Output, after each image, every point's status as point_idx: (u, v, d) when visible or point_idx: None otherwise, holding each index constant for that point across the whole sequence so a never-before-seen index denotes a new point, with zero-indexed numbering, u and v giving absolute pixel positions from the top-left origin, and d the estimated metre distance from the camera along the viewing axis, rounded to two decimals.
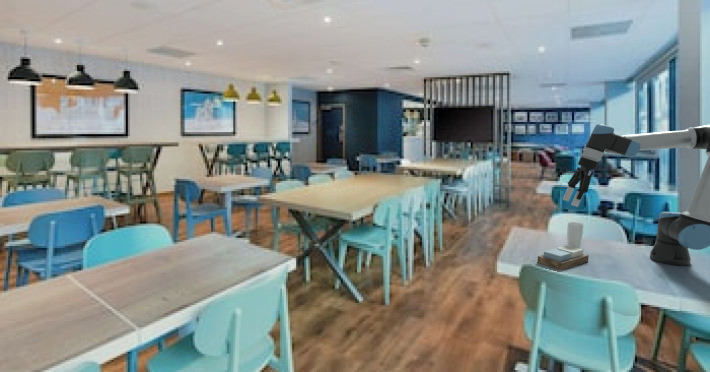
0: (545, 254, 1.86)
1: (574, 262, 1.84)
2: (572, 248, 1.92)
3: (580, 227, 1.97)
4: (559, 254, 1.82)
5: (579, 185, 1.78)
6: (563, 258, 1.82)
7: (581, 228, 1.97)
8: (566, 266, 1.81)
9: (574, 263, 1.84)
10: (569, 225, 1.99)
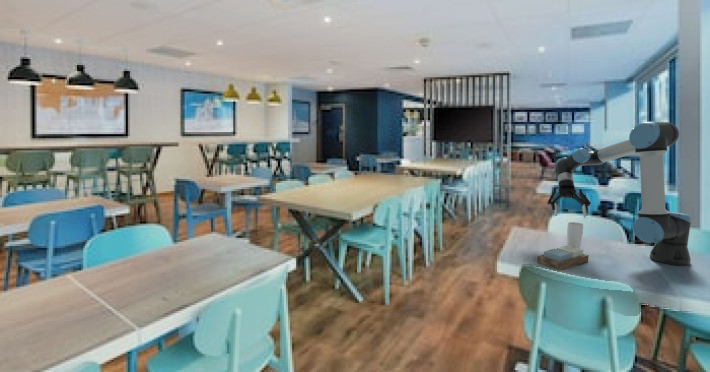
0: (545, 254, 1.86)
1: (574, 262, 1.84)
2: (572, 248, 1.92)
3: (580, 227, 1.97)
4: (559, 254, 1.82)
5: None
6: (563, 258, 1.82)
7: (581, 228, 1.97)
8: (566, 266, 1.81)
9: (574, 263, 1.84)
10: (569, 225, 1.99)
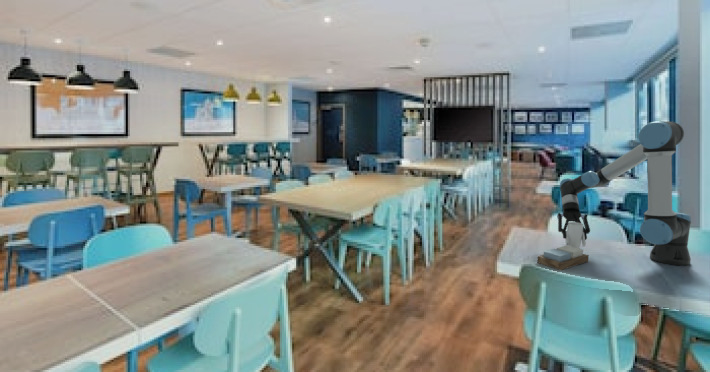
0: (545, 254, 1.86)
1: (574, 262, 1.84)
2: (572, 248, 1.92)
3: (580, 227, 1.97)
4: (559, 254, 1.82)
5: None
6: (563, 258, 1.82)
7: (581, 228, 1.97)
8: (566, 266, 1.81)
9: (574, 263, 1.84)
10: (569, 225, 1.99)
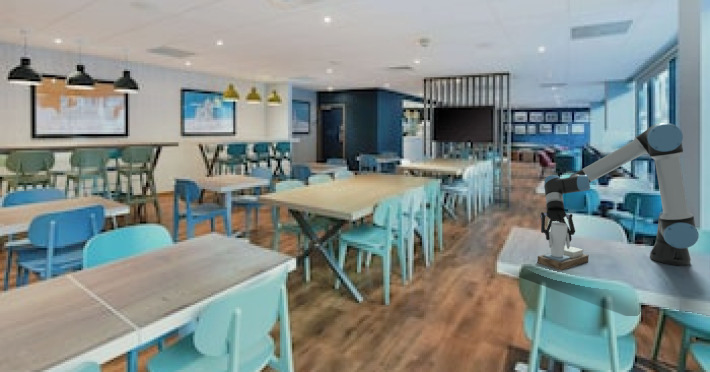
0: None
1: (574, 262, 1.84)
2: (572, 248, 1.92)
3: (564, 228, 1.81)
4: (559, 258, 1.83)
5: None
6: None
7: (565, 229, 1.81)
8: (566, 266, 1.81)
9: (574, 263, 1.84)
10: (552, 225, 1.83)
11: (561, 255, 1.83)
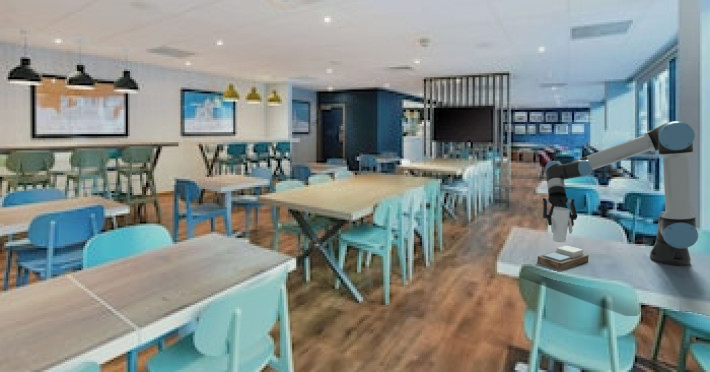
0: None
1: (574, 262, 1.84)
2: (572, 248, 1.92)
3: (566, 212, 1.80)
4: (559, 258, 1.83)
5: None
6: None
7: (567, 213, 1.80)
8: (566, 266, 1.81)
9: (574, 263, 1.84)
10: (554, 210, 1.82)
11: (563, 240, 1.82)
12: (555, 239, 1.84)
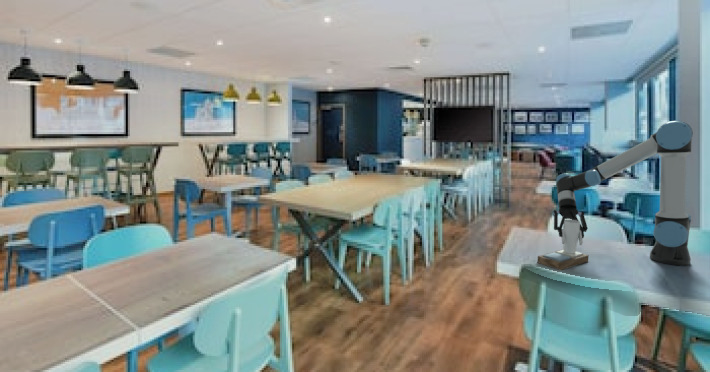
0: None
1: (574, 262, 1.84)
2: None
3: (577, 225, 1.86)
4: (559, 258, 1.83)
5: None
6: None
7: (578, 226, 1.86)
8: (566, 266, 1.81)
9: (574, 263, 1.84)
10: (565, 223, 1.89)
11: (574, 251, 1.89)
12: (566, 250, 1.90)
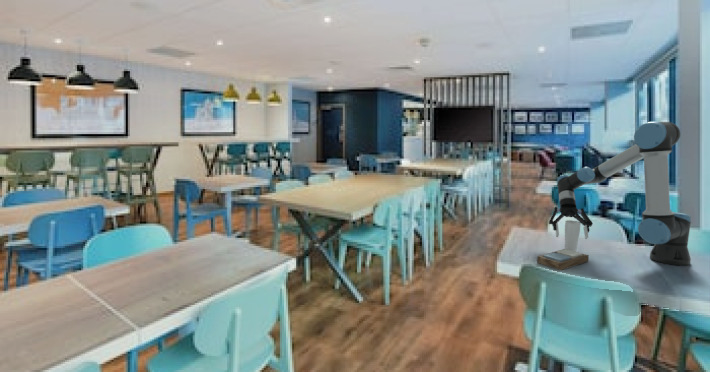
0: None
1: (574, 262, 1.84)
2: (572, 251, 1.92)
3: (577, 225, 2.00)
4: (559, 258, 1.83)
5: (558, 221, 2.10)
6: None
7: (578, 226, 2.01)
8: (566, 266, 1.81)
9: (574, 263, 1.84)
10: (566, 223, 2.03)
11: (574, 250, 2.03)
12: None
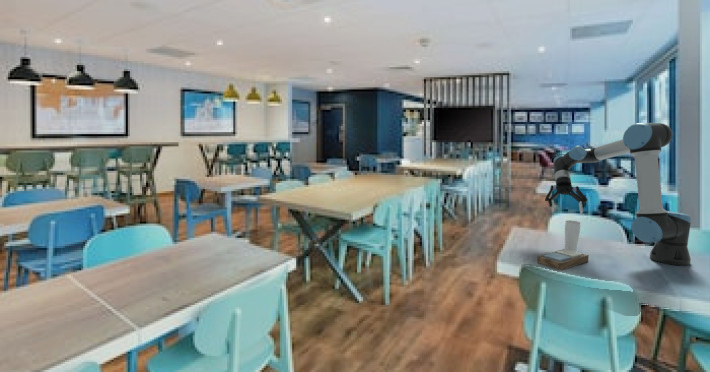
0: None
1: (574, 262, 1.84)
2: (572, 251, 1.92)
3: (577, 225, 2.00)
4: (559, 258, 1.83)
5: (553, 198, 2.21)
6: None
7: (578, 226, 2.01)
8: (566, 266, 1.81)
9: (574, 263, 1.84)
10: (566, 223, 2.03)
11: (574, 250, 2.03)
12: None
